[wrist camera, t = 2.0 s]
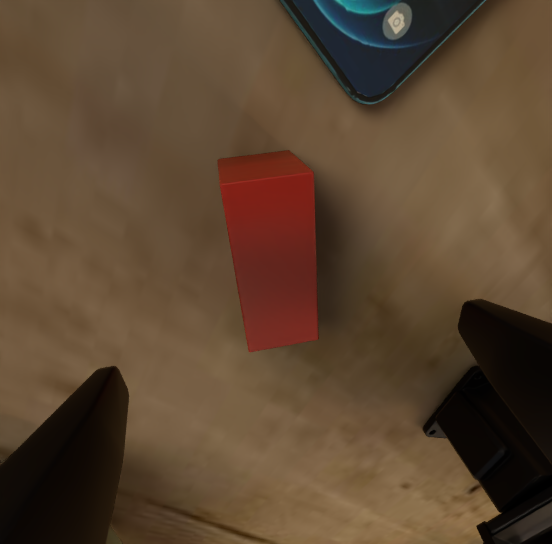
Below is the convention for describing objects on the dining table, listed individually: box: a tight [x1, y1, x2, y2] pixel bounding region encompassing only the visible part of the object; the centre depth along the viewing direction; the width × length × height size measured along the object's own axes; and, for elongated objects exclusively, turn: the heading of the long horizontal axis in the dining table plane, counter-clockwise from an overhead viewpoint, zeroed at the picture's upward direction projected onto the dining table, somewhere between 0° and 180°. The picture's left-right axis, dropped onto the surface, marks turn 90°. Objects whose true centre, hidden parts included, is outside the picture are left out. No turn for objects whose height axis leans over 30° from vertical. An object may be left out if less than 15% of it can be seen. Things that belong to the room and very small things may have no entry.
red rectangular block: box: [218, 150, 319, 352], centre depth 13 cm, size 7×3×4 cm, turn 5°
